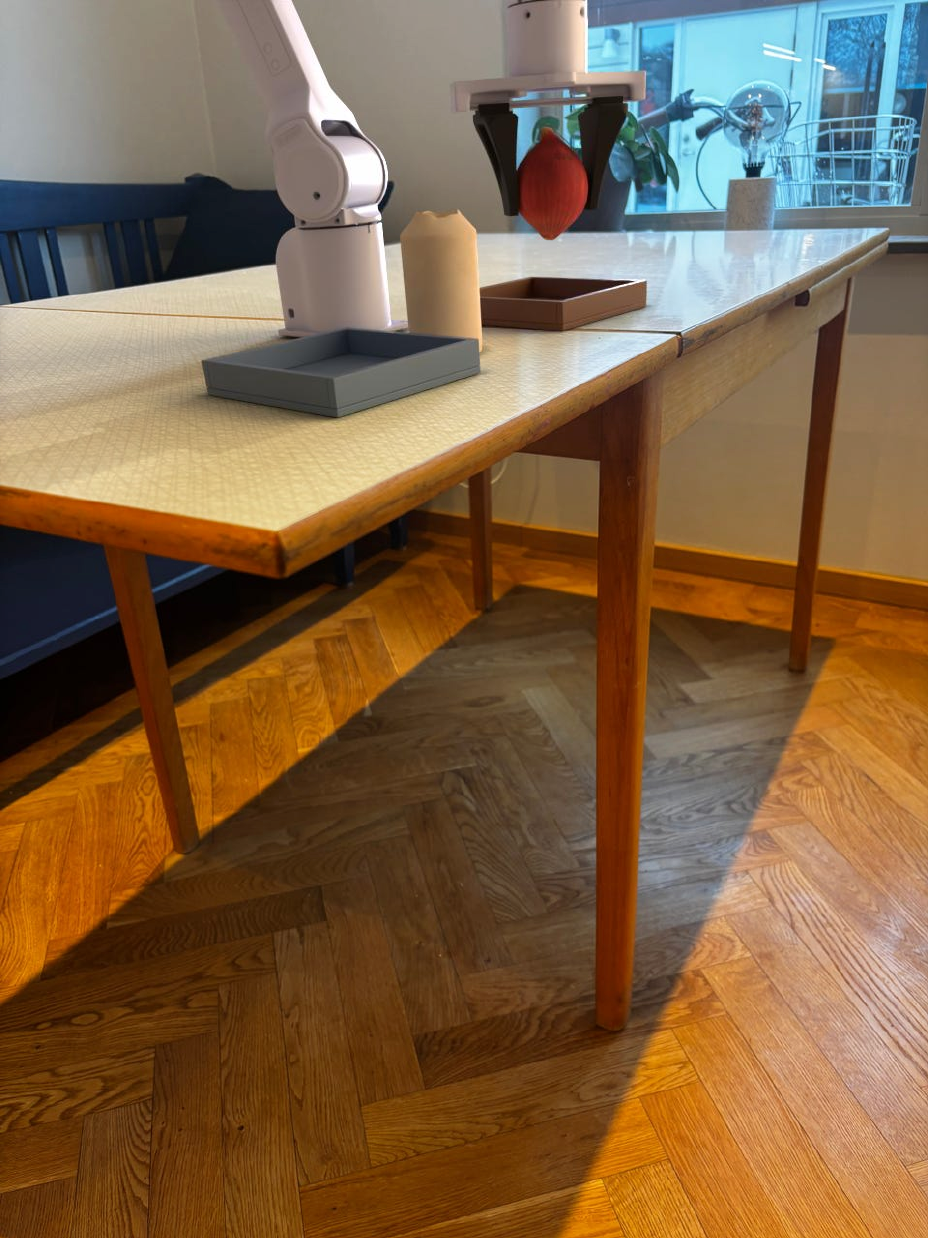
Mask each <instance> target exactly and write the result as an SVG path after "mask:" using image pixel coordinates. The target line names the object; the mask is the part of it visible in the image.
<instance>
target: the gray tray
mask: <svg viewBox="0 0 928 1238" xmlns="http://www.w3.org/2000/svg"><path fill="white" fill-rule="evenodd" d="M480 353H481V352H479V339H476V338H465V337H453V336H442V335H430V334H419V333H409V332H406V331H397V330H396V331H384V330H372V329H361V328H349V327H346V328H341V329H337V330H332V331H328V332H324V333H319V334H315V335H311V336H306V337H296V338H294V339H289V340H285V341H281V342H276V343H271V344H267V345H263V346H259V347H254V348H249V349H246V350H241V351H236V352H231V353H227V354H223V355H219V356H215V357H210V358H206V359H202V360H201V366H202V367H201V368H202V372H203V377H204V383H205V387H206V393H207V396H213V397H220V398H225V399H231V400H236V401H242V402H247V403H252V404H257V405H258V404H259V405H265V406H270V407H276V408H281V409H287V410H291V411H299V412H303V413H310V414H315V415H320V416H327V417H332V418H342V417H345V416H348V415H351V414H354V413H357V412H360V411H364V410H367V409H370V408H373V407H376V406H380V405H383V404H386V403H389V402H392V401H396V400H399V399H402V398H405V397H408V396H412V395H414V394H417V393H421V392H424V391H428V390H431V389H434V388H437V387H441V386H443V385H446V384H449V383H453V382H455V381H459V380H463V379H465V378H469V377H472V376H475V375H478V374H481V373H482V372H481V357H480V356H481V355H480Z"/></svg>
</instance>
